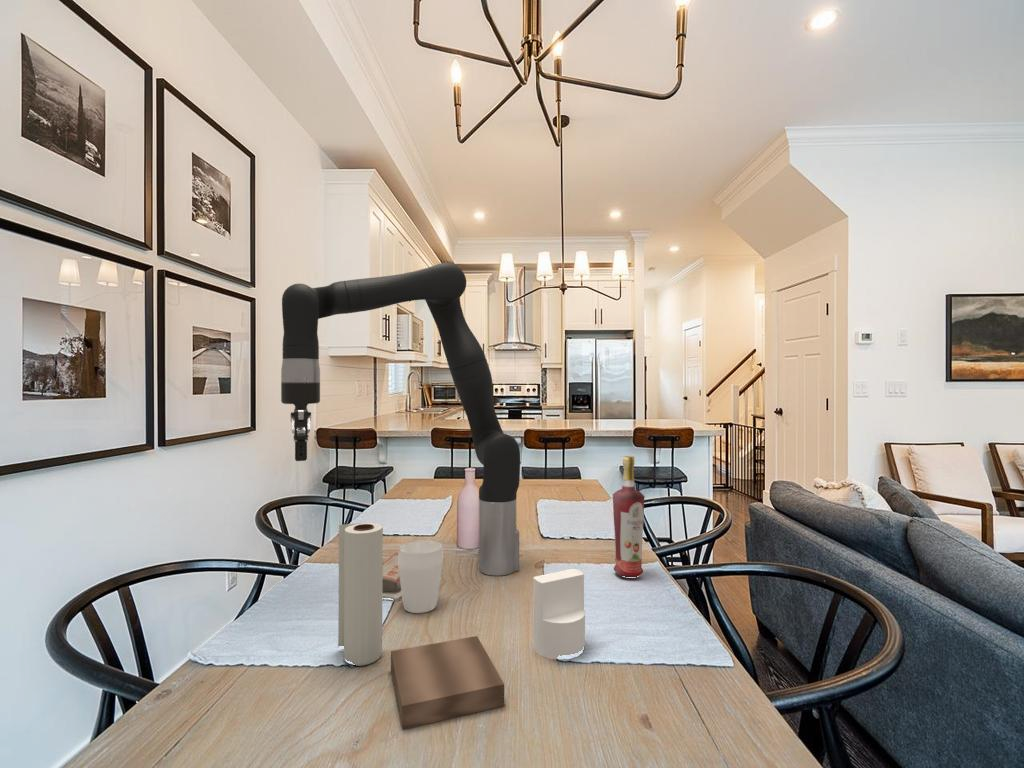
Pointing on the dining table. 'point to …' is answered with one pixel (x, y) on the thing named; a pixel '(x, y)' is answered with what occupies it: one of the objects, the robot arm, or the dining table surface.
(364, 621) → the paper towel roll
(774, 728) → the dining table surface
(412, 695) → the walnut stand
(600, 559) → the dining table surface
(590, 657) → the dining table surface
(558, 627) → the cylinder with rectangular tab
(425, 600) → the cup
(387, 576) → the packaged product
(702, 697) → the dining table surface
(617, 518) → the liquor
